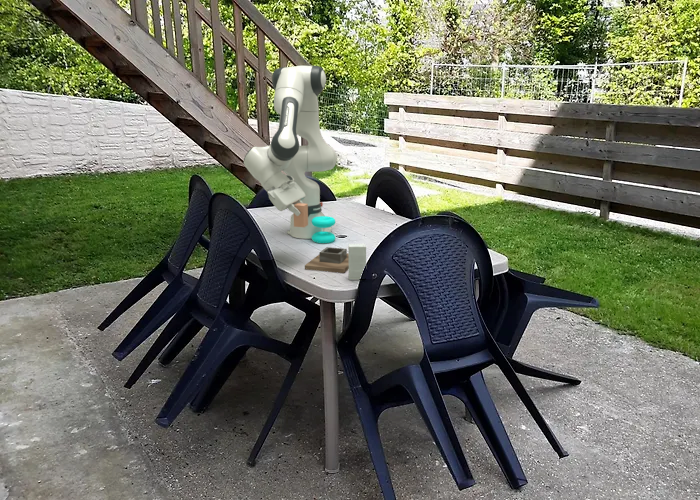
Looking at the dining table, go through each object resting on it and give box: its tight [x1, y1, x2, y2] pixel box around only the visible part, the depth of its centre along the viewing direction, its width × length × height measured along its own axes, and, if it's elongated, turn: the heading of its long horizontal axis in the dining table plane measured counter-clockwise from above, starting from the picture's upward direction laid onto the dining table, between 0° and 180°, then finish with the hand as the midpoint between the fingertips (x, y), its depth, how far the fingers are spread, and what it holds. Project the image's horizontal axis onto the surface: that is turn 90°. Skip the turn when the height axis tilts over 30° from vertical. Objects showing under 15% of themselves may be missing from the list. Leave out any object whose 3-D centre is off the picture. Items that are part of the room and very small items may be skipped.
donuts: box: [311, 215, 336, 244], centre depth 269 cm, size 10×10×10 cm
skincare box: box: [347, 243, 367, 281], centre depth 220 cm, size 6×4×12 cm
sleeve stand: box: [304, 246, 349, 274], centre depth 238 cm, size 20×15×5 cm
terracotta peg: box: [294, 203, 308, 227], centre depth 234 cm, size 4×4×8 cm
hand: (302, 213), depth 234 cm, fingers closed on terracotta peg, 4 cm apart
